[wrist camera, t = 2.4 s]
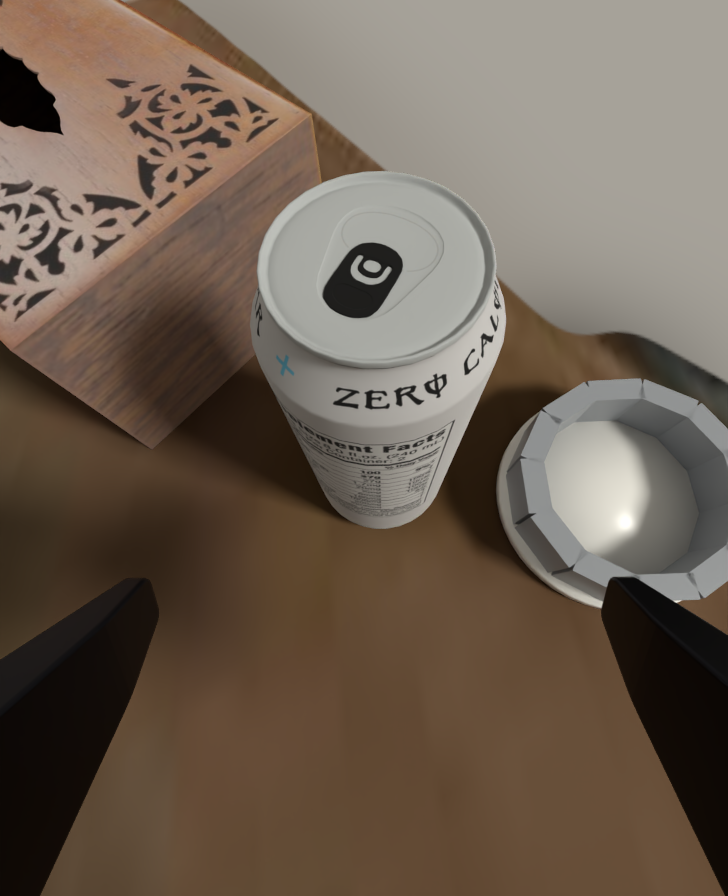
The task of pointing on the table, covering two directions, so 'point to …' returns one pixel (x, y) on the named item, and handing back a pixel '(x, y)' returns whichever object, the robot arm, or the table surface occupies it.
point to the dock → (619, 492)
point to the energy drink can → (378, 335)
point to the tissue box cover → (135, 206)
